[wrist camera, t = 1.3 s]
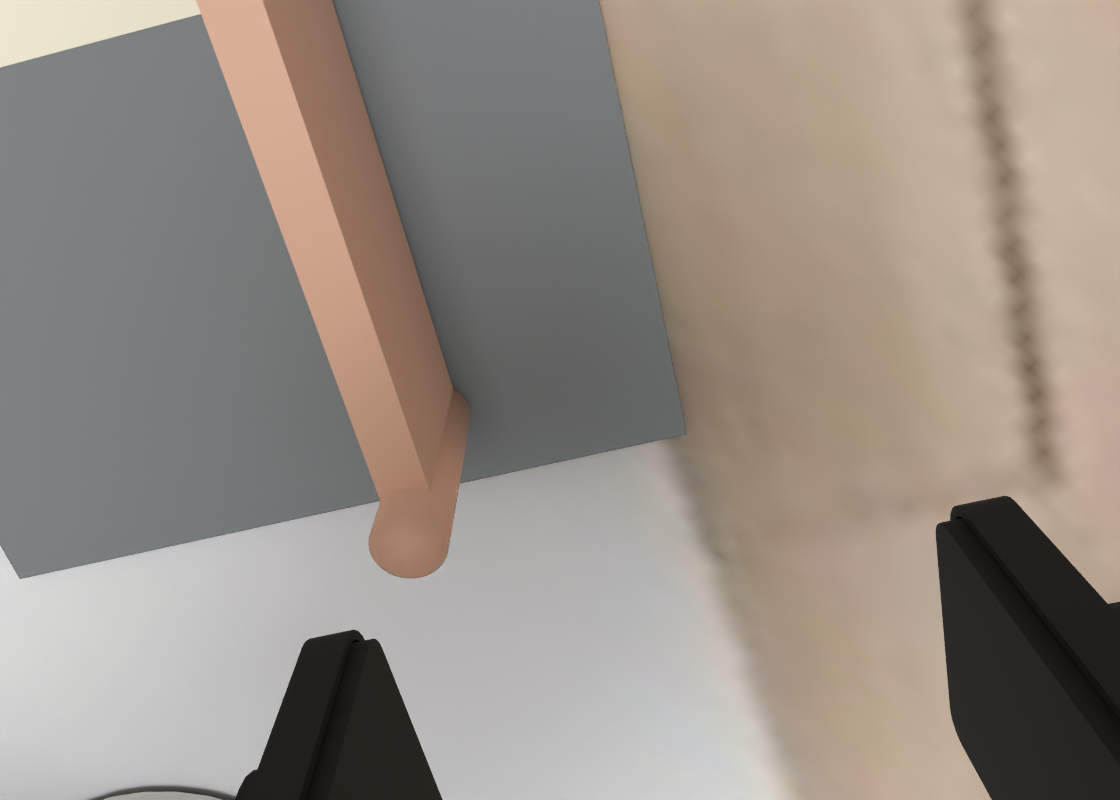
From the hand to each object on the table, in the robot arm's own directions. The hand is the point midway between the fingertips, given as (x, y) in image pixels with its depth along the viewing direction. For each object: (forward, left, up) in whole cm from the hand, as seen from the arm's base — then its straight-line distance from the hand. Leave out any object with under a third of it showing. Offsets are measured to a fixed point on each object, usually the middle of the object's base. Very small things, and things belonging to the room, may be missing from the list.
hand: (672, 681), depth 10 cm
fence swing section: (+2, +6, -17) cm, 18 cm away
